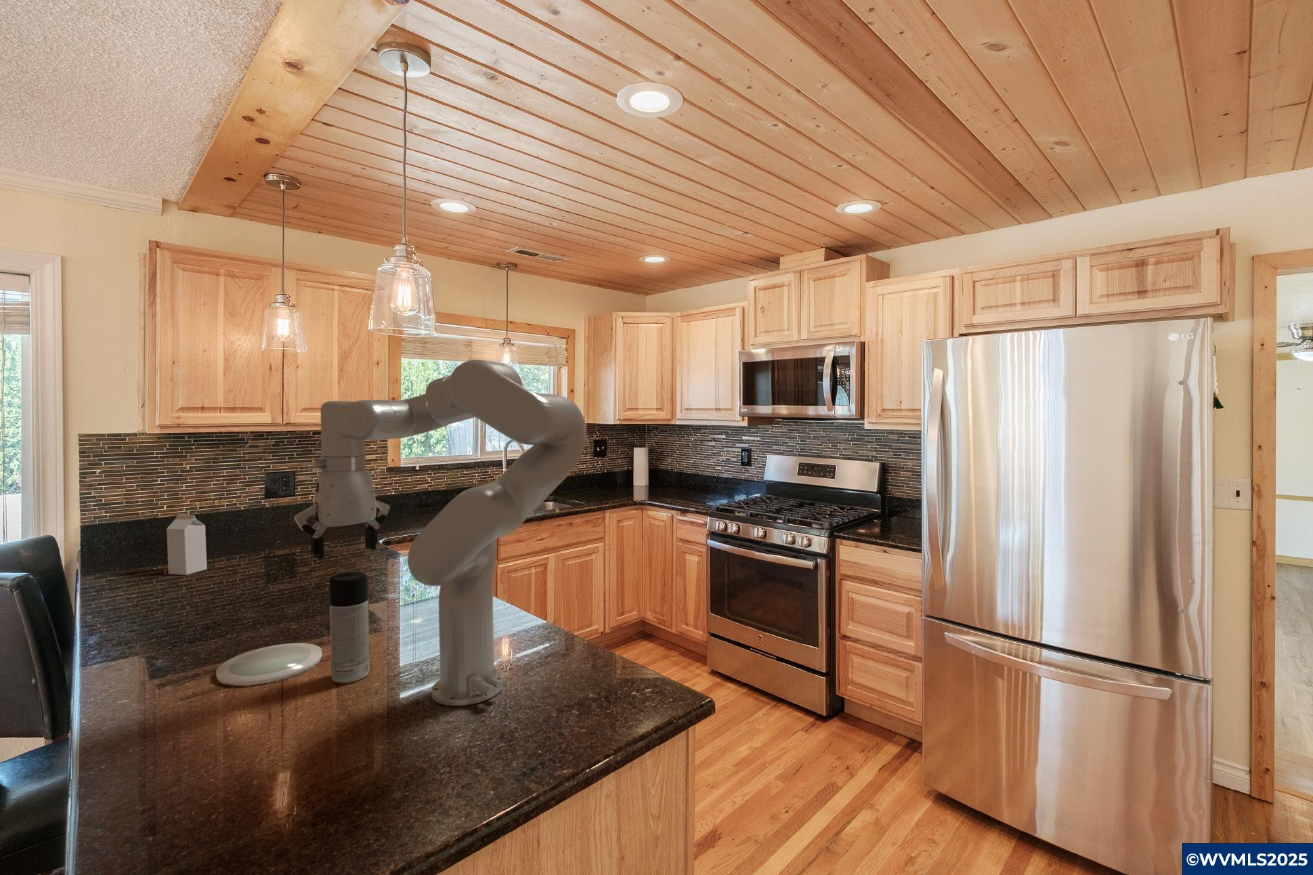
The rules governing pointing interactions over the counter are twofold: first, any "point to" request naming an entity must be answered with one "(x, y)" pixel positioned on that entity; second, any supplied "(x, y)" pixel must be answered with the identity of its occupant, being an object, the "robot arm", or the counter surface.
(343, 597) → the spray can
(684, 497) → the counter surface
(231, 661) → the dish
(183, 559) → the milk carton
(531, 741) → the counter surface
